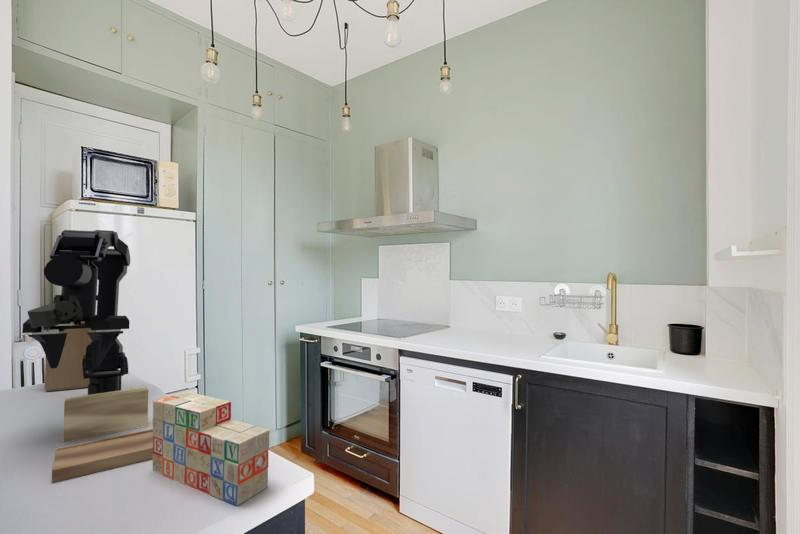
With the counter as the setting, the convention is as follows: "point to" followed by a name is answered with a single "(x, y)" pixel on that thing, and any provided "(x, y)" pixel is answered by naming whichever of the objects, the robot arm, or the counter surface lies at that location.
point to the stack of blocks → (209, 447)
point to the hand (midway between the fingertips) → (74, 367)
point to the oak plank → (105, 413)
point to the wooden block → (69, 362)
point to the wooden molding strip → (102, 455)
